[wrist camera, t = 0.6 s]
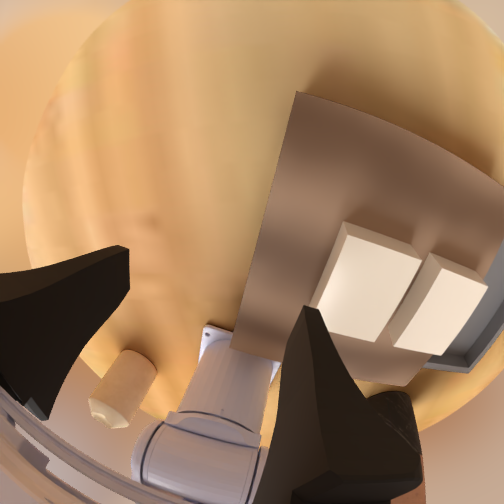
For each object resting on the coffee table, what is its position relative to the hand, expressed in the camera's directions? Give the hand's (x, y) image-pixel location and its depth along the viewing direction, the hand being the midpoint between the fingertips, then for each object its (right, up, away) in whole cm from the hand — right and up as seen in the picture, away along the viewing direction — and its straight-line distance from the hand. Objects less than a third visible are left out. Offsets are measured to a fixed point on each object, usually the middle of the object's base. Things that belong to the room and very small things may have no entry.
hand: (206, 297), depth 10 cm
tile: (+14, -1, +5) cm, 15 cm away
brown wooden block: (+10, +2, +9) cm, 14 cm away
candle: (-13, -13, +21) cm, 28 cm away
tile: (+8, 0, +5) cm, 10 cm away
